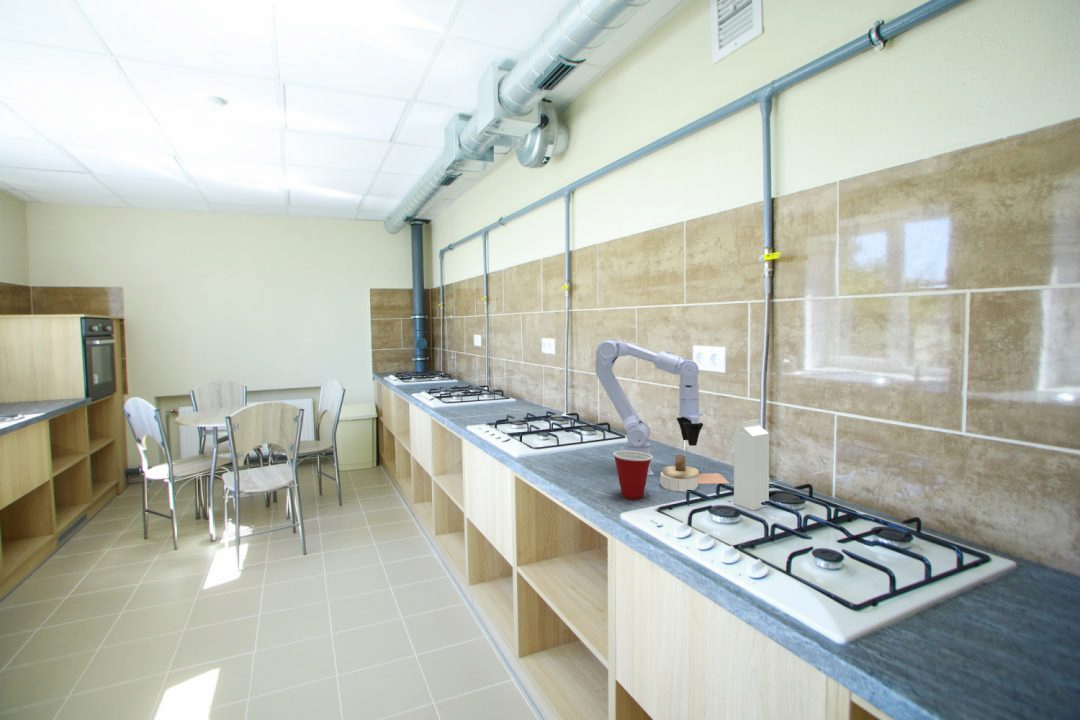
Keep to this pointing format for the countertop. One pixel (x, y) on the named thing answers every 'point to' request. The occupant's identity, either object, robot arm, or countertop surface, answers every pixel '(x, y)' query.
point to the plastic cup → (632, 472)
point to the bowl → (678, 483)
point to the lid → (680, 469)
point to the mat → (711, 478)
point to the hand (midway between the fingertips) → (689, 442)
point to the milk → (751, 465)
